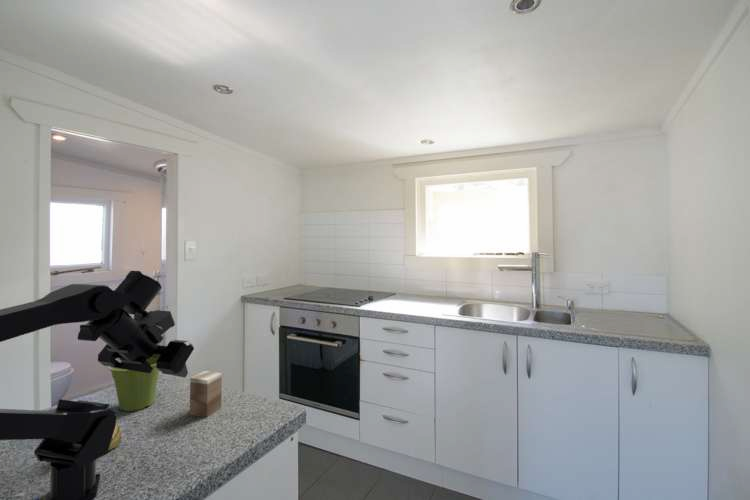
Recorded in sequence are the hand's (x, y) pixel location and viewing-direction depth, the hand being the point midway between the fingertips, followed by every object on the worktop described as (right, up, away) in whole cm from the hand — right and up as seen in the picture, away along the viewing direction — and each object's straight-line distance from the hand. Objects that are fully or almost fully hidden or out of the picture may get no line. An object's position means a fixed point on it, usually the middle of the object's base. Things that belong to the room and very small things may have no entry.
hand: (168, 373), depth 76 cm
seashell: (-11, -14, -6) cm, 18 cm away
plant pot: (-16, -13, +13) cm, 25 cm away
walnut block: (+3, -13, +11) cm, 17 cm away
